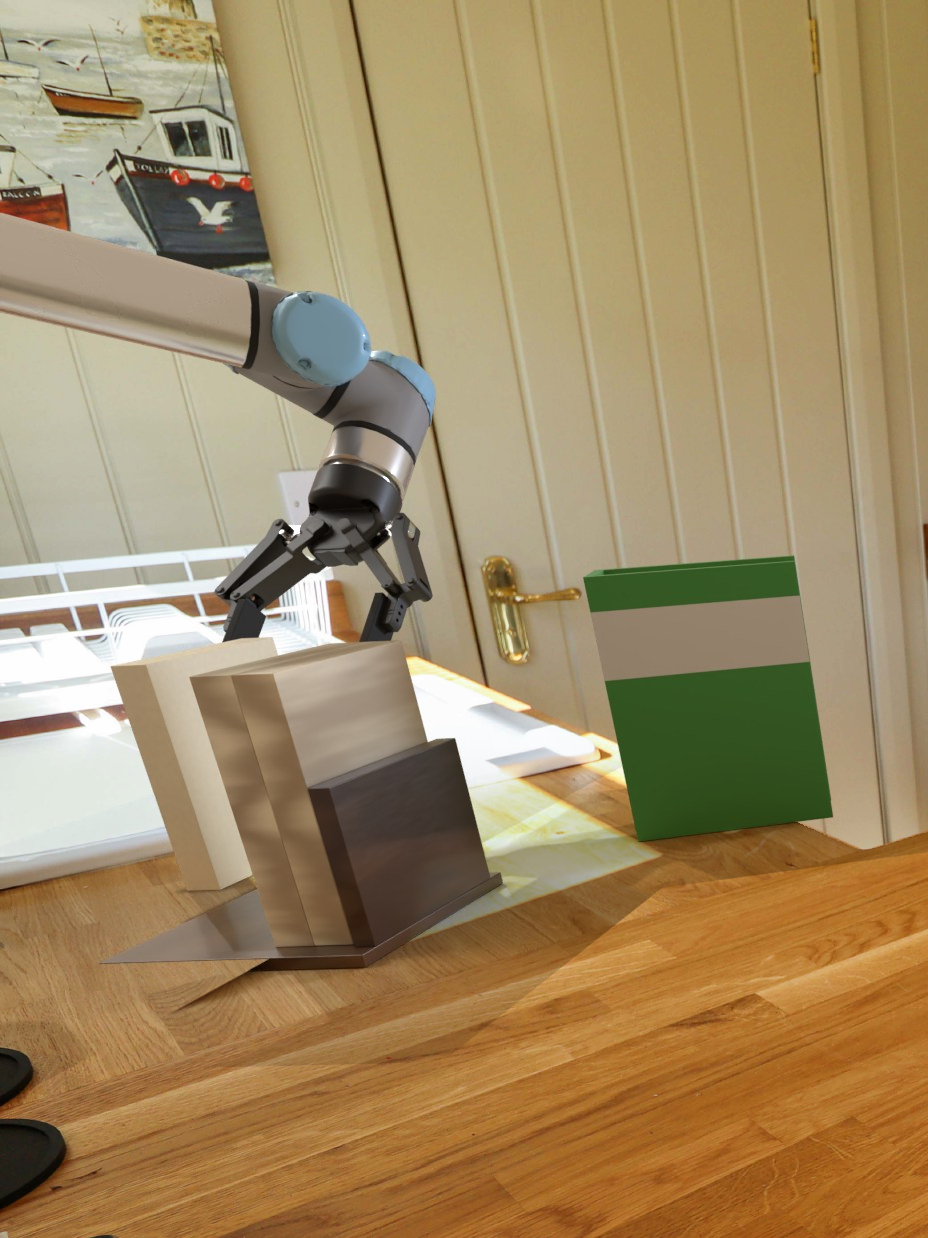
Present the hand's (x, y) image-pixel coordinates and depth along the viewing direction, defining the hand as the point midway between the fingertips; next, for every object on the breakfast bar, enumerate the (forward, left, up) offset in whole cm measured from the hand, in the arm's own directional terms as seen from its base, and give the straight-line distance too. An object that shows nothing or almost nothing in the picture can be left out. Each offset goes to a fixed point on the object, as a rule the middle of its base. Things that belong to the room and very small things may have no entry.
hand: (300, 661), depth 119 cm
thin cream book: (0, -11, -17) cm, 21 cm away
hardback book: (+39, +1, -17) cm, 43 cm away
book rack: (+15, -25, -17) cm, 34 cm away
